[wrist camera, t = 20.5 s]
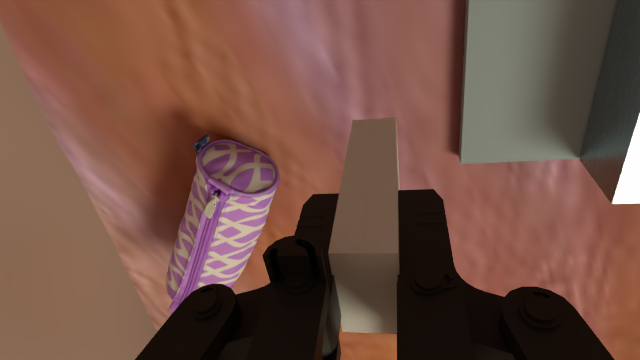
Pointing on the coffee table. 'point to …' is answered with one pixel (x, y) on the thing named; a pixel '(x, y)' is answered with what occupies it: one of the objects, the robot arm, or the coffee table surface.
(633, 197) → the sliding jaw
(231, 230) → the pencil case
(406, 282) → the robot arm
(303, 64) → the coffee table surface
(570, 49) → the vise
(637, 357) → the coffee table surface
